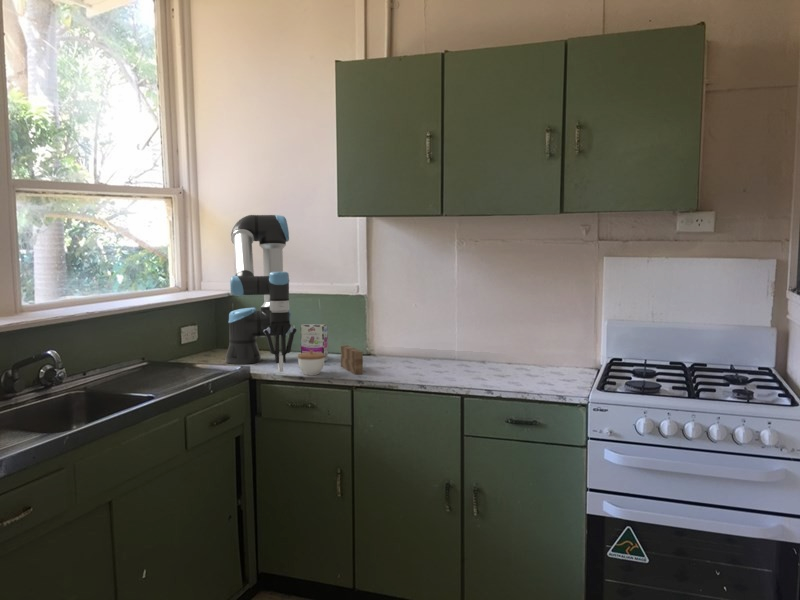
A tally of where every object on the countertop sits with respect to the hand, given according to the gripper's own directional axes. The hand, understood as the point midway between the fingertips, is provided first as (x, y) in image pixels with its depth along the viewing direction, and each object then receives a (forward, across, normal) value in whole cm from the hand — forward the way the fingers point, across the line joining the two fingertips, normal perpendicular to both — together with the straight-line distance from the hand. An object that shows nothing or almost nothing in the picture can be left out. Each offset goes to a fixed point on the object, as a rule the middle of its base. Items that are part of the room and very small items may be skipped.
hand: (280, 371), depth 254 cm
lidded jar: (+2, +12, 0) cm, 13 cm away
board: (+2, +30, 0) cm, 30 cm away
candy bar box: (+2, +22, +27) cm, 34 cm away
